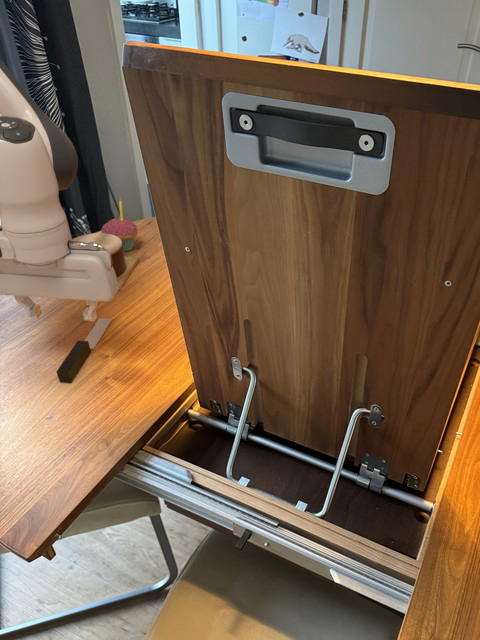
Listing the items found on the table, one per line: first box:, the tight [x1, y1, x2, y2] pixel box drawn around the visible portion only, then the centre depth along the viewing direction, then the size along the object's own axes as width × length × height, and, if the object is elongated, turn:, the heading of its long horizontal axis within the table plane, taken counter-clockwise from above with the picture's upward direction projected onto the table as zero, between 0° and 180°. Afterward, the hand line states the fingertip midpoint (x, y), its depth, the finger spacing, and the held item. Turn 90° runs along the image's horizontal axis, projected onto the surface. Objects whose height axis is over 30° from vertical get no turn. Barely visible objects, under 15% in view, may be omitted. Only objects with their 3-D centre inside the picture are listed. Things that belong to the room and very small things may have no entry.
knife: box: [56, 317, 113, 384], centre depth 95 cm, size 20×3×2 cm, turn 174°
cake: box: [72, 232, 140, 292], centre depth 115 cm, size 14×14×7 cm
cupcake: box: [101, 197, 139, 253], centre depth 124 cm, size 9×8×12 cm
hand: (63, 317), depth 85 cm, fingers open, 8 cm apart
